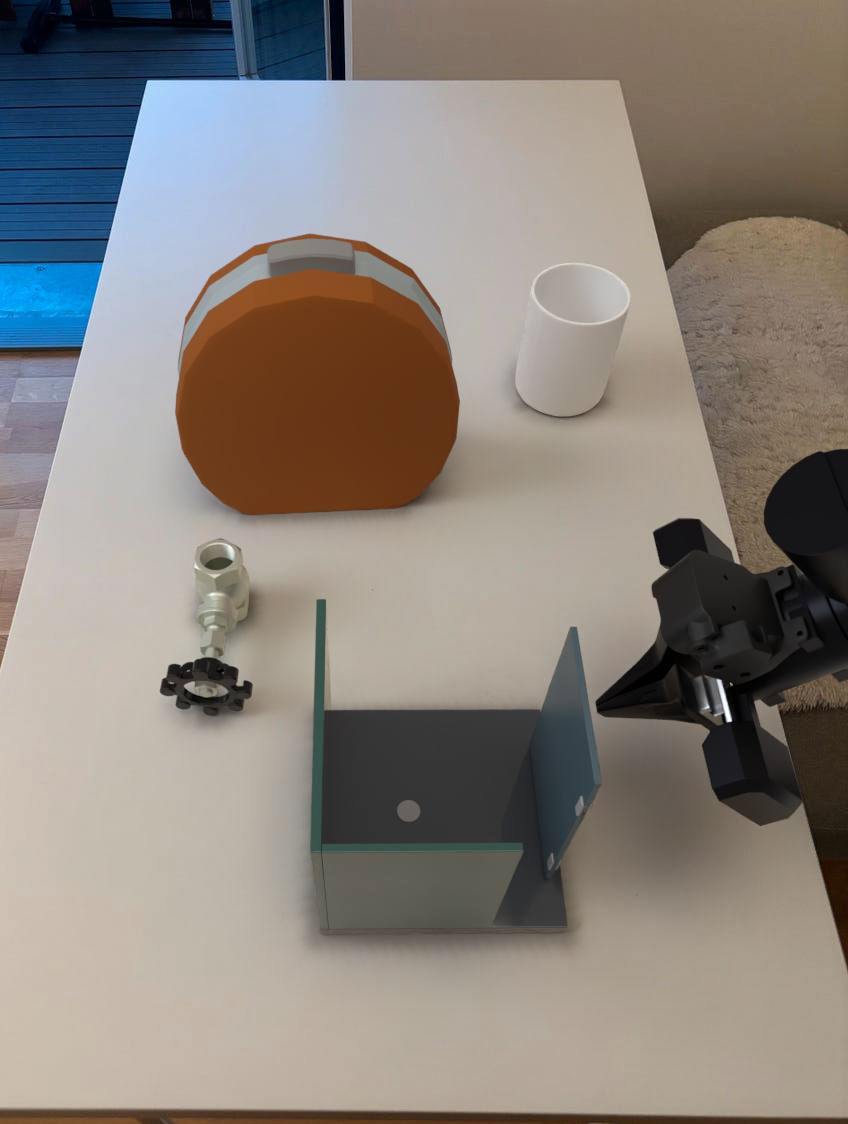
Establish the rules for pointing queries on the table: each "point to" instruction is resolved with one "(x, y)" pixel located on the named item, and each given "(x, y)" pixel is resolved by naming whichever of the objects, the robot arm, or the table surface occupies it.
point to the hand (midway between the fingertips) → (599, 709)
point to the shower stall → (425, 819)
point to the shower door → (564, 756)
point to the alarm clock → (315, 380)
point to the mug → (570, 337)
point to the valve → (214, 631)
